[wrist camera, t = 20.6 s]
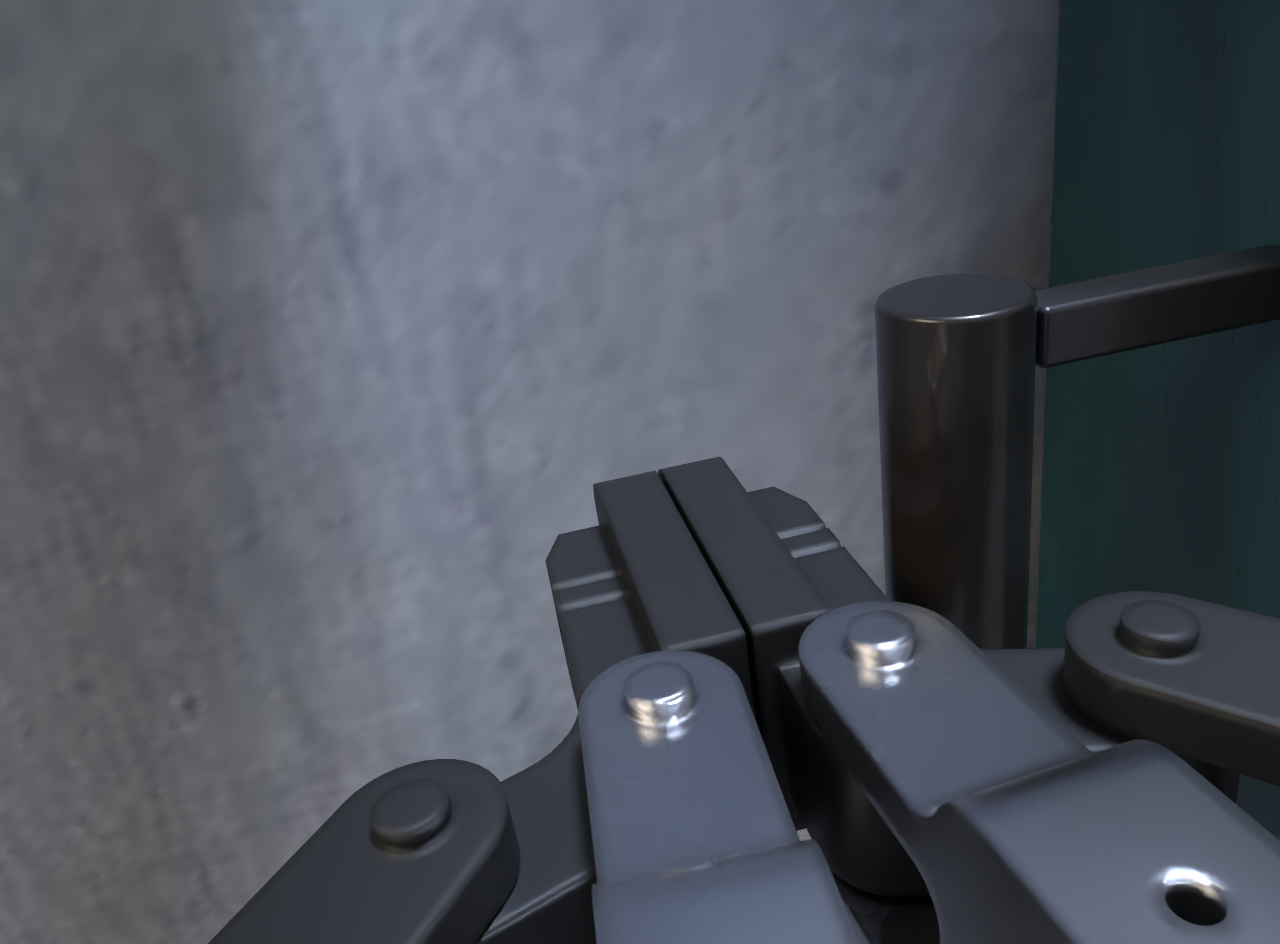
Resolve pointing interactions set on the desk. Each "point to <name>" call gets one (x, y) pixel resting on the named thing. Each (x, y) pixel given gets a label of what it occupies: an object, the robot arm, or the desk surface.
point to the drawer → (1108, 351)
